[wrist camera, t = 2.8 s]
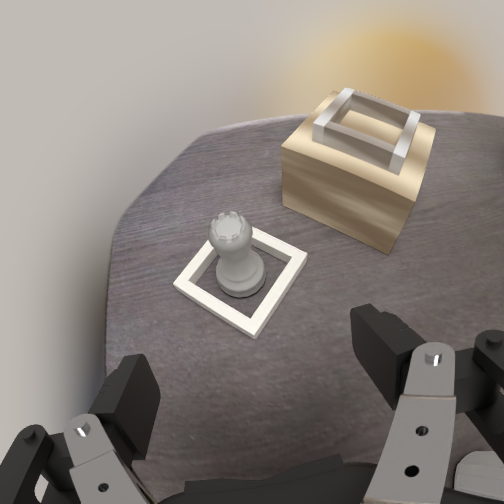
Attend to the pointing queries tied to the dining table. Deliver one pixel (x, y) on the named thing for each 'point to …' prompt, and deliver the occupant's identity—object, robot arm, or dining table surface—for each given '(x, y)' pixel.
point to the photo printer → (481, 475)
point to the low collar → (270, 302)
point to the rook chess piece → (236, 255)
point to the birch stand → (357, 166)
